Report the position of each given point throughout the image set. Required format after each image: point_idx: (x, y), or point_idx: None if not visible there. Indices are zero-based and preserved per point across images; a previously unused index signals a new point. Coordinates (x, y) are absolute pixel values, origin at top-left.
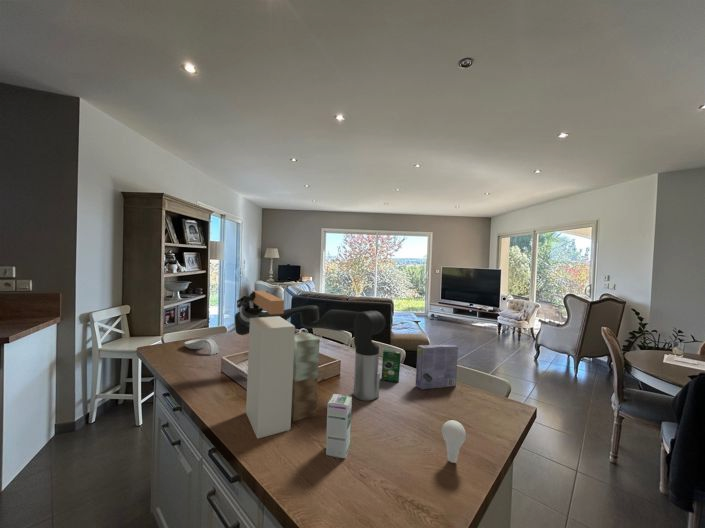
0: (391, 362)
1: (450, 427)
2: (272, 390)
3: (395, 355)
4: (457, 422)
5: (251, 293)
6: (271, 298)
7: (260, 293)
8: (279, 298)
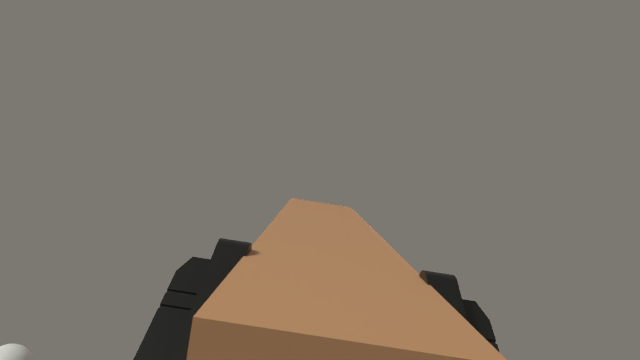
0: None
1: (26, 351)
2: None
3: None
4: (8, 344)
5: (473, 309)
6: (331, 210)
7: (360, 245)
8: (289, 202)
